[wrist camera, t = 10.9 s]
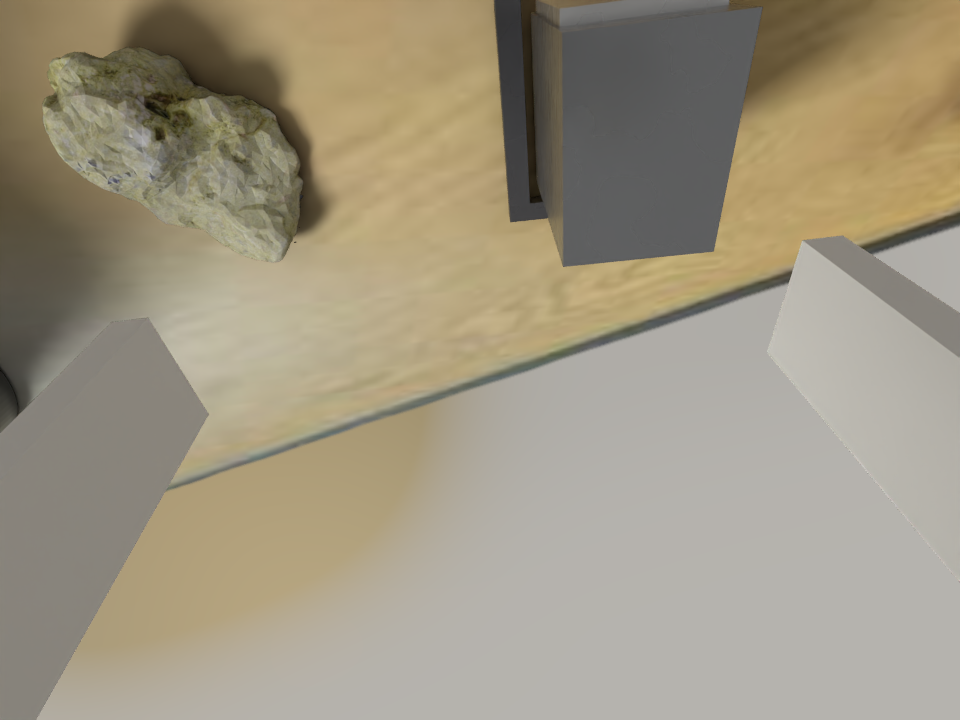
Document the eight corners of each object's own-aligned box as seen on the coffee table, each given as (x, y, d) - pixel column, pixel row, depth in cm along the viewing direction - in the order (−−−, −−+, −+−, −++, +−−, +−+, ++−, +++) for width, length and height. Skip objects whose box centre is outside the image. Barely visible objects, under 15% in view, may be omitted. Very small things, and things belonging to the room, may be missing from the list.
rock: (310, 242, 32) (310, 82, 25) (278, 305, 28) (267, 132, 21) (135, 200, 31) (84, 17, 24) (73, 260, 26) (-14, 57, 19)
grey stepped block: (536, 181, 28) (563, 266, 20) (530, 0, 23) (562, 13, 15) (641, 169, 28) (713, 251, 20) (659, -18, 23) (766, -15, 14)
